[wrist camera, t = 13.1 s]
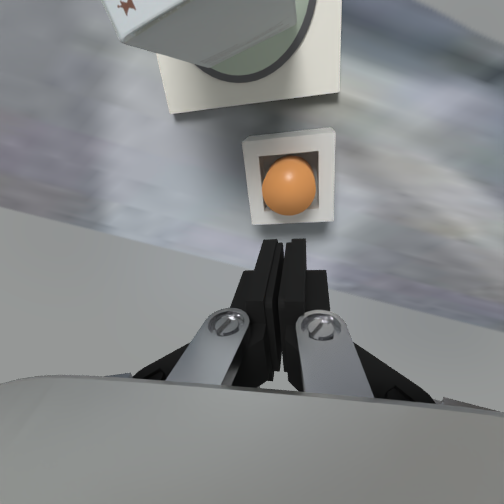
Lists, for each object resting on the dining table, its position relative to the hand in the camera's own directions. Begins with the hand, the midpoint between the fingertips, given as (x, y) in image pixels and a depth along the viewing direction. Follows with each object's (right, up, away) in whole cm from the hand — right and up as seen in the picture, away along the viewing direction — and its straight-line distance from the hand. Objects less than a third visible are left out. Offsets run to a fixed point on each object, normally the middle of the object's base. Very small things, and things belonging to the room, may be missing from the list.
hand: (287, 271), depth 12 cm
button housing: (+2, +8, +14) cm, 17 cm away
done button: (+2, +7, +12) cm, 14 cm away
